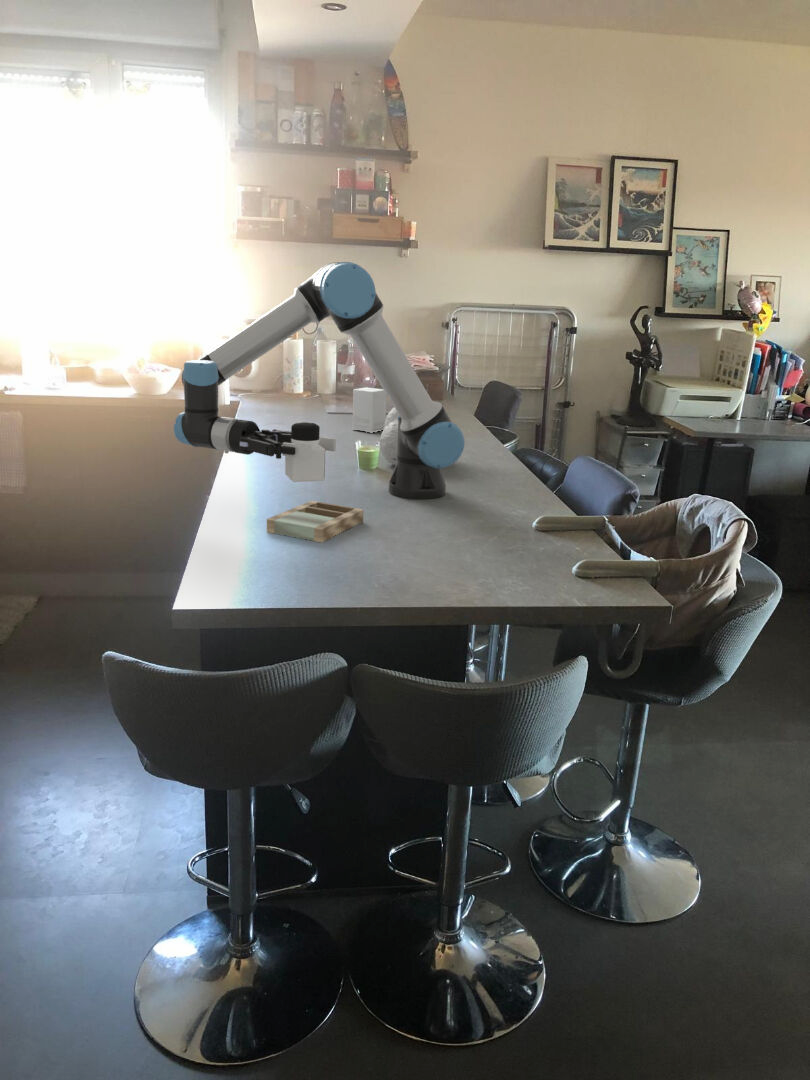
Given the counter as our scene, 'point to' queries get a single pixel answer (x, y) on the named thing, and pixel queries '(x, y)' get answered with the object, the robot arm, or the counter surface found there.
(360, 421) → the supplement box
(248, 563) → the counter surface
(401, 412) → the robot arm
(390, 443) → the cauliflower
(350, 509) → the board
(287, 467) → the medicine bottle
